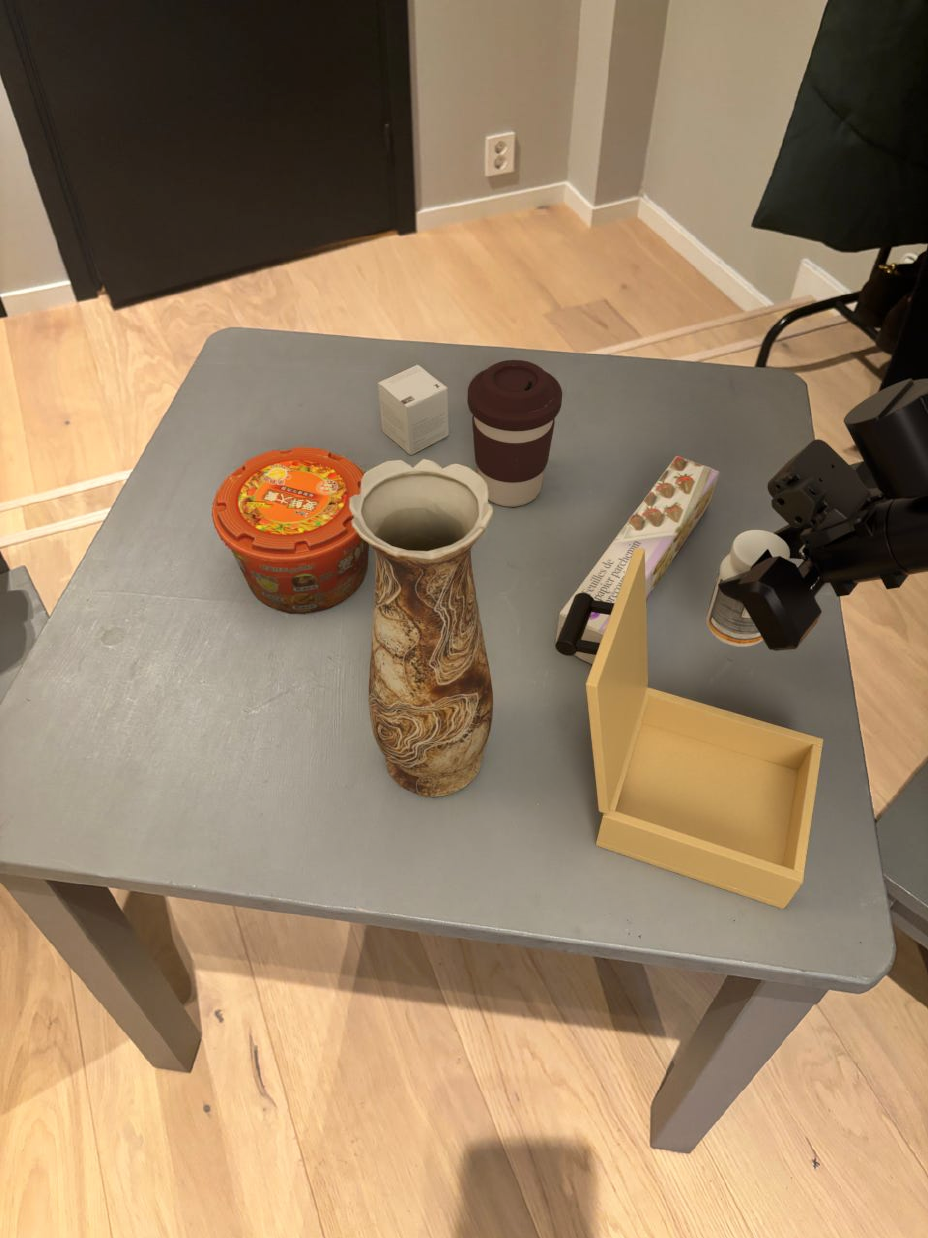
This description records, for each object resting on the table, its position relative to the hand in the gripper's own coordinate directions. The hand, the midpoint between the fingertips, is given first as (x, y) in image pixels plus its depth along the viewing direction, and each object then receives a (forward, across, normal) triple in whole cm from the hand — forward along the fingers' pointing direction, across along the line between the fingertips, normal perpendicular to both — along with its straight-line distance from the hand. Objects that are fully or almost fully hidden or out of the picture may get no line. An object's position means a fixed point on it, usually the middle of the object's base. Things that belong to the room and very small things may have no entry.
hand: (738, 568), depth 78 cm
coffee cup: (+31, -7, -12) cm, 34 cm away
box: (+18, -5, +1) cm, 19 cm away
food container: (+37, +17, -18) cm, 44 cm away
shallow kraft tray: (+4, +14, +15) cm, 21 cm away
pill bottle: (+4, 0, +6) cm, 7 cm away
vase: (+19, +25, 0) cm, 31 cm away
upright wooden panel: (0, +17, -1) cm, 17 cm away
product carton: (+41, -7, -23) cm, 48 cm away
